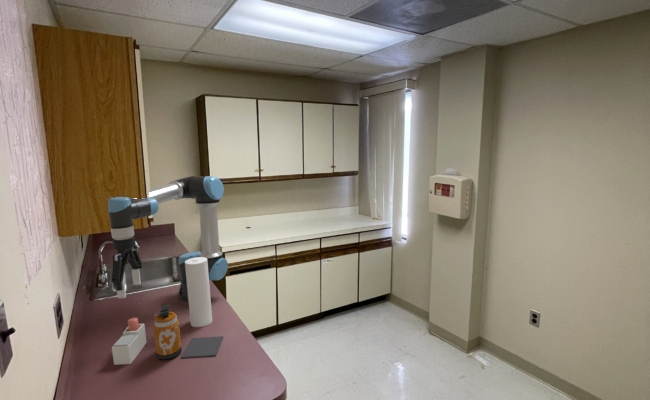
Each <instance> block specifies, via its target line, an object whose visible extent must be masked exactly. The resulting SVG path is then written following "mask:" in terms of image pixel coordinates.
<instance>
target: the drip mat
mask: <svg viewBox="0 0 650 400" xmlns="http://www.w3.org/2000/svg"><path fill="white" fill-rule="evenodd" d="M223 340H224V336H223V335H222V336H221V335H220V336H205V337H203V336H202V337H192V338H191V339H190V340H189V342H188V344H187V345H186V347H185V349H184V350H183V353H182V355H181V356H180V359H188V358H189V359H190V358H191V359H193V358H194V359H195V358H207V357H208V358H210V357H217V355H218V352H219V349H220V347H221V344H222V343H223V342H222V341H223Z"/></svg>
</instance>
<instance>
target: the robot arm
mask: <svg viewBox="0 0 650 400" xmlns="http://www.w3.org/2000/svg"><path fill="white" fill-rule="evenodd" d="M149 189H150V191H149V195H148V196H149V198H142V199H137V198H129V197H123V196H114V197H115V198H113V197H110V198H111V199H109V200H108V213H109V214H108V213H107V214H108V219H109V226H110V232H111V238H112V240H111V242H112V248H113V250H116V251H117V253H116V254H115V255H114V254H113V255H112V272H111V283H112V284H113V283H114V284H115V287H116V295H117V299H126V298H127V293H126V292H127V291H126V285H125V284H126V282H125V280H124V274H125V270H126V265H128V263H129V265H130V266H131V268H132V269H131V277H132V285H133V286H135V285H136V286H139V285H141V284H142V281H141V271H140V269H142V268H143V266H142V265H143V263H142V260H141V257H140V254H139V251H138V248H137V245H136V237H135V230H134V229H135V228H134V220H138V219H141V218H146V217H150V216H154V215H155V214H157V213H158V211H159V208H160V207H159V204H162V203H165V202H168V201H172V200H176V201H177V200H182V199H195V204H196V205H197V206H198V209H199V223H200V226H199V227H200V238H201V239H200V241H201V251H198V250H197V251H190V252H187V253H183V254H181V255H180V256H179V257H178V270H179V278H180V284H179V288H178V292H177V294H178V295H177V297H178V299H180V300H182V301H188V290H187V280H186V269H185V261H186V260H188V259H191V258H196V257H205V258H207V262H208V274H209V281H220V280H221V279H223V278H224V277H225V276H226V273H227V271H228V268H229V263H228V260H227V259H226V258H225V257H224V256H223V252H222V251H221V250H220V240H219V236H220V235H219V222H218V219H219V218H218V205H219V204H220V202H221V201H220V200H221V199H222V198H223V196H224V194H225V188H224V184H223V182H222V181H221V180H220V178H218V177H217V176H210V175H208V176H207V175H205V176H204V175H203V176H200V175H197V176H196V175H191V176H185V177H182V178H179V179H176V180H172V181H170V182H169V183H168V184H166V185H160V186H158V187H154V188H149Z"/></svg>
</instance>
